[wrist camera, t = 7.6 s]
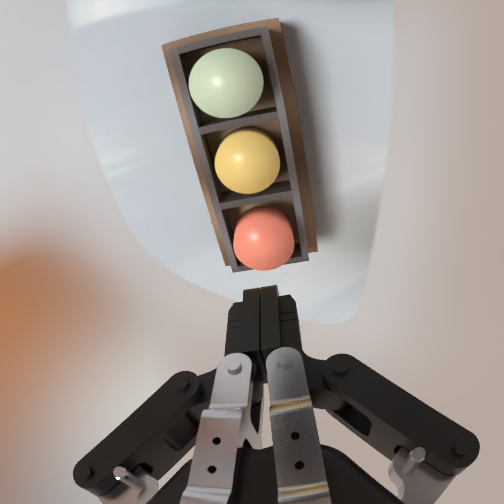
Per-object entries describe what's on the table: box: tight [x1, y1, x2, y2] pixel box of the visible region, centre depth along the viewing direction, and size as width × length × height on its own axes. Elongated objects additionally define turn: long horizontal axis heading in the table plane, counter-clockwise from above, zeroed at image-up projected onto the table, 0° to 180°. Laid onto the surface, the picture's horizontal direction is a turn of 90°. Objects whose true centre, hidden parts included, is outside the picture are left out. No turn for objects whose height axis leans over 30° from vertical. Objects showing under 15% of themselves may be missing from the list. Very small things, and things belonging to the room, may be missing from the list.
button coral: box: [233, 206, 294, 270], centre depth 19 cm, size 3×3×2 cm
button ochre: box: [215, 127, 280, 194], centre depth 17 cm, size 3×3×2 cm
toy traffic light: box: [162, 18, 318, 272], centre depth 18 cm, size 15×6×4 cm, turn 12°
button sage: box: [189, 48, 263, 118], centre depth 14 cm, size 3×3×2 cm
